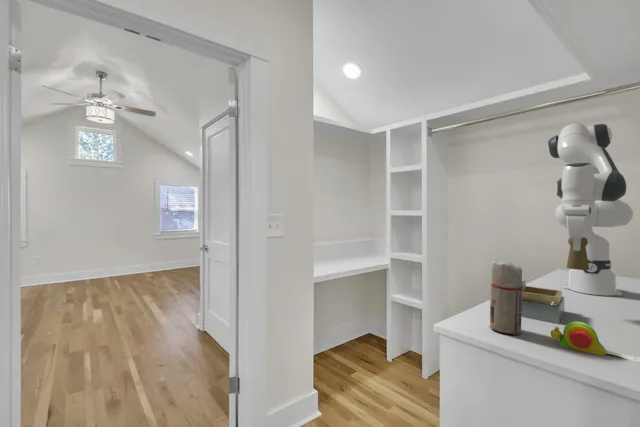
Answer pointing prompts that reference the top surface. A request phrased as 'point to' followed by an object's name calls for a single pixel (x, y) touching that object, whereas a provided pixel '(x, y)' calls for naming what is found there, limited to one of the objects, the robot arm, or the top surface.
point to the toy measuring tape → (584, 340)
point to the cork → (578, 256)
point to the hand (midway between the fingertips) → (577, 249)
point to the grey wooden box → (542, 303)
